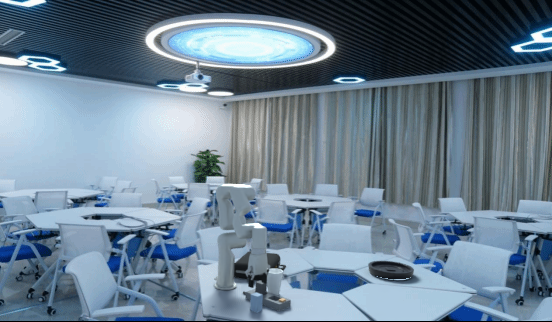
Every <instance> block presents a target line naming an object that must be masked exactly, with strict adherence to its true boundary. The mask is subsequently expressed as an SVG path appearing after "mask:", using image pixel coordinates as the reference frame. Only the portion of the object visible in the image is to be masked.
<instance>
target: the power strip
mask: <svg viewBox="0 0 552 322" xmlns="http://www.w3.org/2000/svg"><path fill="white" fill-rule="evenodd" d="M256 292H257V293H259V294H262V295H263V300H262V306H265V307H267V308H270V309H272V310H275V311H278V312H281V311H283V310H286V309H288V308H290V307H291V299H289V298H287V297H283V296H281V295H276V294H273V293H270V292H268V287H267V283H266V284H265V283H262V281H259V280H256V281H255V288H252V289H250V290H248V291H242V294H243V295H245V299H246V300H248V301H250V300H251V294H253V293H256Z"/></svg>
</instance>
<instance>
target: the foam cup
mask: <svg viewBox="0 0 552 322" xmlns="http://www.w3.org/2000/svg"><path fill="white" fill-rule="evenodd" d="M280 269H281V268H278V269H269V272H268V275H267V292H270V293H273V294H276V295H278V296H280V292H281V286H282V280H283V275H284V274H283V273H284V271H282V270H280Z"/></svg>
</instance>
